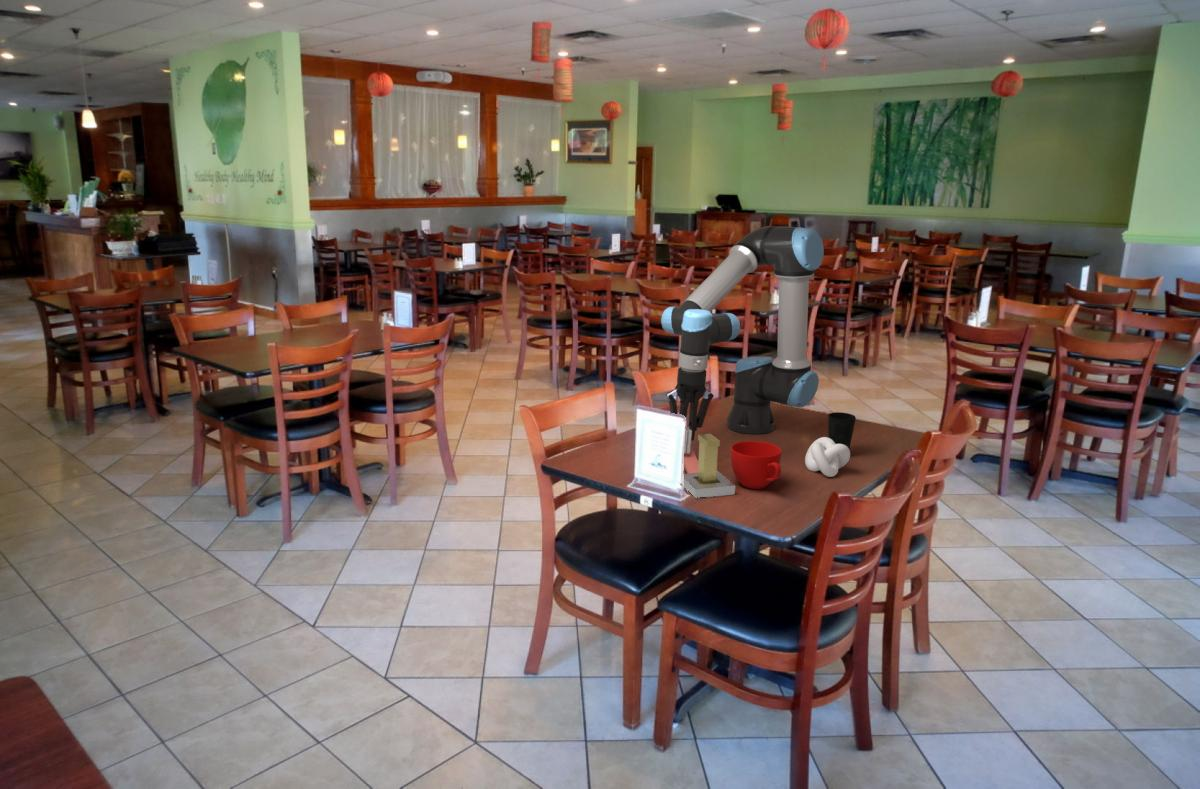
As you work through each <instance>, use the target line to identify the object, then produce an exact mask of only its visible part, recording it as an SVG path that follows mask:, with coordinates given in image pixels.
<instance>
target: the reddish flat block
mask: <svg viewBox="0 0 1200 789" xmlns="http://www.w3.org/2000/svg"><path fill="white" fill-rule="evenodd" d="M698 461H699V459H698V458H697V456H696V453H695V451H694V449H690V453H685V454H684V465H683V467H684V469H685V472H686V474H687V473H697V472H698Z"/></svg>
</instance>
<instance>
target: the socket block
mask: <svg viewBox="0 0 1200 789" xmlns="http://www.w3.org/2000/svg"><path fill="white" fill-rule="evenodd" d="M683 474H684V485H685V488H686V490H687V492H688V491H689V492H690V493H691V494H692V495H693V496H694V497H695V498H696V499H701V498H700V497H706V498H713V497H714V496H715V497H723V496H734V495H735V494H736V484H734V483H733V482H732V481H731V480H730V479H728V478H727V477H726V476H725V475H724V474H722V473H721V472H720V471H719V470H717V474H716V483H712V484H700V483H699V482H698V472H697V473H687V472H686V473H683ZM689 492H688V493H689ZM690 493H689V494H690ZM691 494H690V495H691ZM692 495H691V496H692ZM693 496H692V497H693ZM694 497H693V498H694ZM697 497H698V498H697ZM695 498H694V499H695Z"/></svg>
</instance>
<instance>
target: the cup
mask: <svg viewBox="0 0 1200 789" xmlns="http://www.w3.org/2000/svg"><path fill="white" fill-rule="evenodd" d="M827 419H828V422H827V424H828V425H827V426H828V427H827V428H828V432H827V434H828V435H827V436H828V438H830V439H832V440H833V441H834V442H835V444H843V445H846V446H847V447H848V448H849V450H850V448H851V444H852V438H853V434H854V428H855V422H856V419H857V418H856V415H854V414H851V413H848V412H839V411H837V412H830V413H829V414H828V415H827ZM838 456H839V455H838Z"/></svg>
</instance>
